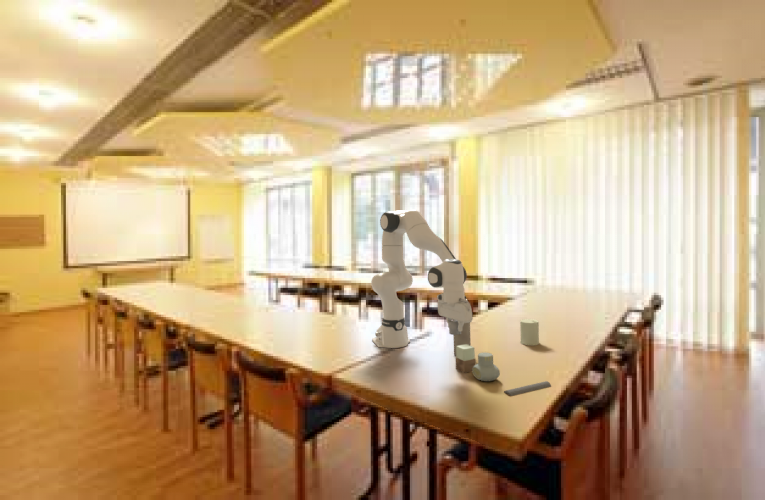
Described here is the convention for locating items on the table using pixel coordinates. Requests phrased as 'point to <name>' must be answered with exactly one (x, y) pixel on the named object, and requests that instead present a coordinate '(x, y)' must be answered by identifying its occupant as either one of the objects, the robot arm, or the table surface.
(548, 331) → the table surface
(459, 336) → the thermos bottle
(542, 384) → the half round rod
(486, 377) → the air freshener
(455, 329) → the short grey cylinder
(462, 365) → the walnut block
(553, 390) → the table surface
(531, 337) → the can
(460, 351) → the sage block
